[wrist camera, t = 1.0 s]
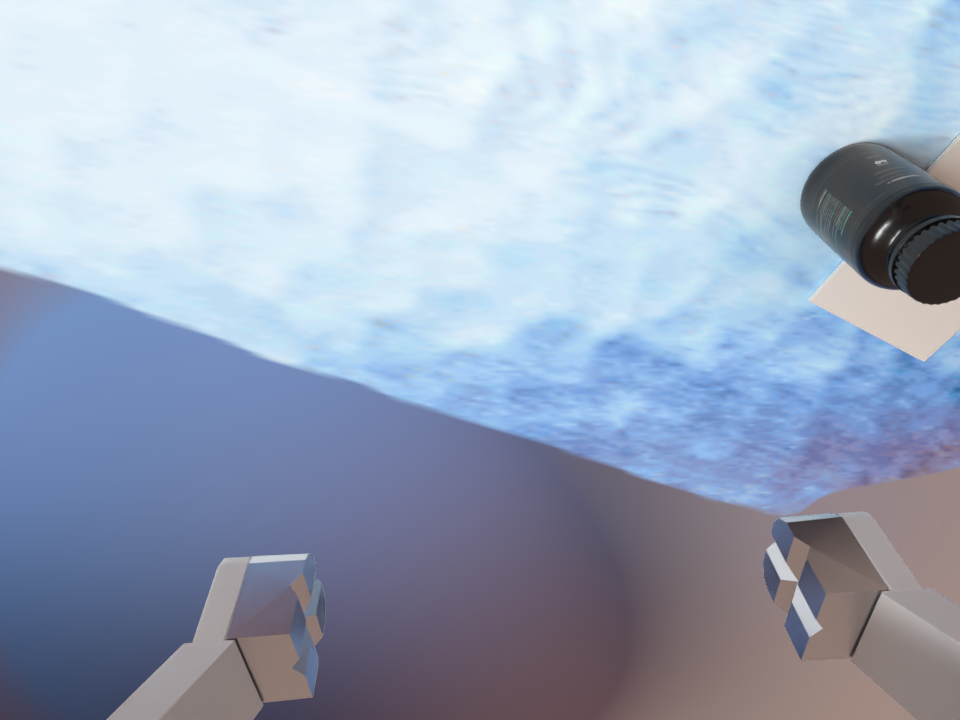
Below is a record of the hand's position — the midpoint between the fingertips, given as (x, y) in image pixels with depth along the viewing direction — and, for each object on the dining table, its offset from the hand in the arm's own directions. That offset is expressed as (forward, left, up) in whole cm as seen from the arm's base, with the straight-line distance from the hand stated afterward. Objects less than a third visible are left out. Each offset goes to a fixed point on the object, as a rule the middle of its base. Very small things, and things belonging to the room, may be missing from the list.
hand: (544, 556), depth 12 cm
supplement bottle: (-5, +27, -37) cm, 46 cm away
